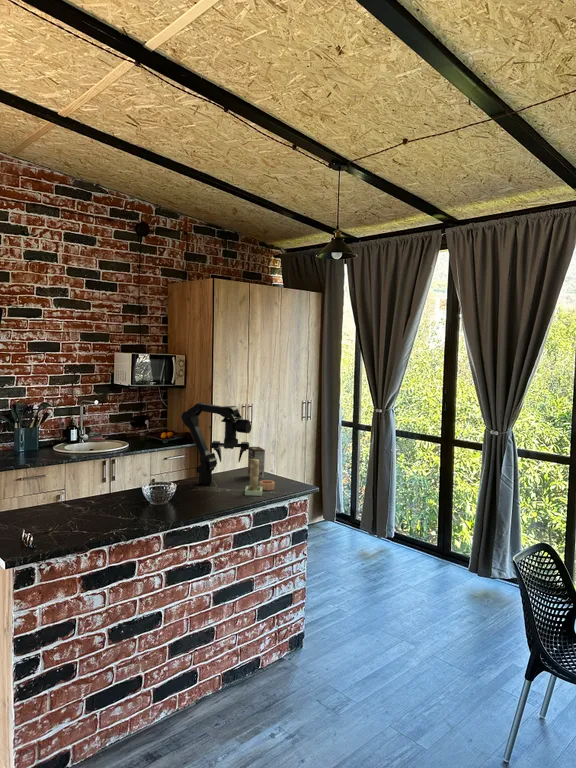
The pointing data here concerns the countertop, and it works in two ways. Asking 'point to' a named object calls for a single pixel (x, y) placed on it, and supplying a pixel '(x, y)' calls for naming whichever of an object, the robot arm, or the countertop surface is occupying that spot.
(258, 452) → the coffee box
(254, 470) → the dowel
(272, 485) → the holder
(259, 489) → the tray
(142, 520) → the countertop surface
